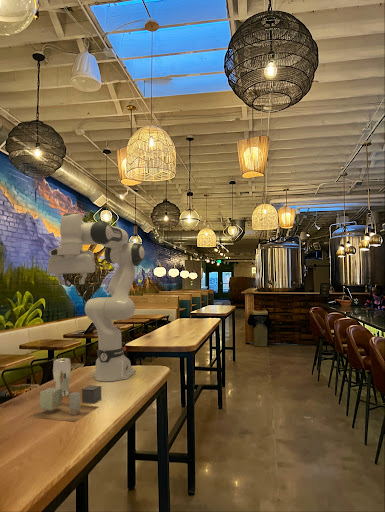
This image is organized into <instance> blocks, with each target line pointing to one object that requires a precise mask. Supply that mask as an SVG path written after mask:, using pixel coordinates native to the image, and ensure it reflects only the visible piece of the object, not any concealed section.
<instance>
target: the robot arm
mask: <svg viewBox="0 0 385 512" xmlns="http://www.w3.org/2000/svg"><path fill="white" fill-rule="evenodd" d="M59 230H60V231H59V234H60V238H61V239H60V243H59V246H58V247H56V248H53V249H52V250H49V252H48V255H49V256H50V257H49V258H48V260H47V271H48V273H49V275H56V279H57V281H58V285H59V286H60V285H61V286H63V285H65V280H63V278H62V277H63V274H81V276H82V277H81V278H80V279H79V280H78V284H79V285H85V284H86V283H85V282H86V279H87V277H88V273H89V274H90V273H91V274H93V273H94V272H96V263H95V252H94V251H92V250H89V249H88V250H83V246H86V245H87V246H88V245H102V246H103V247H105V249H104V252H103V254H104V259H105V261H106V262H107V263H108V264H114V265H115V264H118V267H117V268H116V270H115V271H114V273H113V274H112V277H111V279H110V281H109V283H108V285H107V291H108V293H109V295H110V297H108V296H107V297H105V296H104V297H103V296H102V297H94V298H90V299H88V300H87V301H86V303H85V305H84V313H85V315H86V317H87V318H88V319H90V321H91V322H92V323H93V325H94V327H95V328H96V331H97V332H96V333H97V338H98V340H97V341H98V342H97V343H98V348H97V354H96V355H97V358H96V360H95V369H94V370H95V371H94V374H93V375H92V377H93V378H95V379H94V380H96V381H97V382H115V381H116V382H117V381H121V380H128V379H129V378H131V376H133V374H135V373H136V369H135V368H131V367H132V366H131V365H132V364H131V360H130V359H129V358H128V357H127V356H126V355H125V354H124V352H126V350H127V347H126V346H123V345H122V344H123V343H122V340H123V339H122V331H121V329H119V328H118V327H116V326H115V325H114V324H113V321H123V320H127V319H131V318H132V317H133V315H134V314H135V311H136V306H135V303H134V301H133V299H131V298H130V297H129V294H130V291H131V289H132V285H133V283H134V280H135V276H136V267H138V266H139V265H140V263H142V262H143V260H144V258H145V256H146V255H145V254H146V253H145V248H144V246H143V244H142V243H139V242H128V241H129V234H128V232H127V231H126V230H124V229H123V228H121V227H118V226H114V225H110V224H109V223H108V222H107V221H105V220H100V221H94V222H85V221H84V220H82V216H81V213H79V212H69V213H64V214H62V215H61V217H60V227H59Z"/></svg>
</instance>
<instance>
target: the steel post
mask: <svg viewBox="0 0 385 512" xmlns="http://www.w3.org/2000/svg"><path fill="white" fill-rule="evenodd" d="M68 398H69V403H68V404H69V412H70V415H75V416H76V415H78V414H79V413H80V405H81V392H76V391H75V392H72V393H70V394H69V397H68Z"/></svg>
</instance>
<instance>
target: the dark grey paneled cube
mask: <svg viewBox="0 0 385 512" xmlns="http://www.w3.org/2000/svg"><path fill="white" fill-rule="evenodd" d="M101 400H102V386H101V385H88V386H86V387H83V388H82V389H81V403H82V404H92V405H94V404H96V403H97V402H99V401H101Z"/></svg>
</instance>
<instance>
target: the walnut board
mask: <svg viewBox="0 0 385 512" xmlns="http://www.w3.org/2000/svg"><path fill="white" fill-rule="evenodd" d="M98 408H99V406H96V405H85V404H80V413H79V414H78V415H76V416H75V415H70V412H69V403H64V402H62V406H60V407H58V408H57V411H55V412H53V413H46V410H44V409H40V410H39V411H36V412H35V413H33V414H31V415H28V418H32V419H40V420H41V419H42V420H50V421H59V422H68V423H76V422H77V421H80V420H81V419H82V418H84V417H86V416H87V415H88V414H90V413H92V412H94V411H95V410H96V409H98Z"/></svg>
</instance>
